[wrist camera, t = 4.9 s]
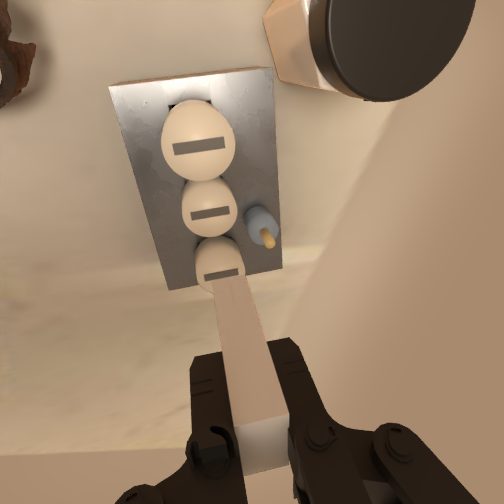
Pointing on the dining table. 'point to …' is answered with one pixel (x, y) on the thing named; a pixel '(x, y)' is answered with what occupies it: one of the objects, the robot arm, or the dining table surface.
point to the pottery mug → (12, 60)
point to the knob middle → (208, 207)
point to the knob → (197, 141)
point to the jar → (365, 43)
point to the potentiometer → (261, 226)
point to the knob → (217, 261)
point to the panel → (236, 175)
